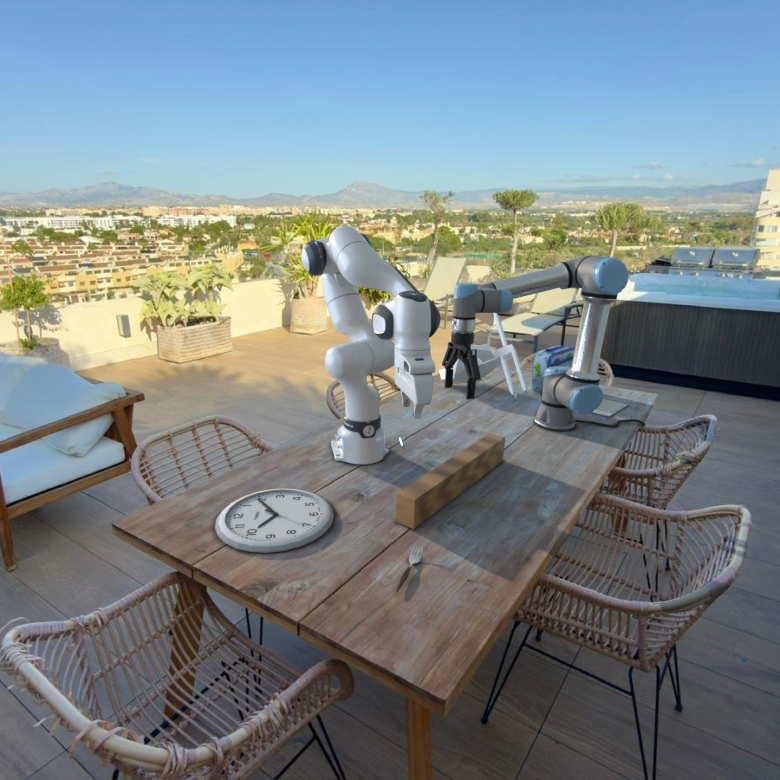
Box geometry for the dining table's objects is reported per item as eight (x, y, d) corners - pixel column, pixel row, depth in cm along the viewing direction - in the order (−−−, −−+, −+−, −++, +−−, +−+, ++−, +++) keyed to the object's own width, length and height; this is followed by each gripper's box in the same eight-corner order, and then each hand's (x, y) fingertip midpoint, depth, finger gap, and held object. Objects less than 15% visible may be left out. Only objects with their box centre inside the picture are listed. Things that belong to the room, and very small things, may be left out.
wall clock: (332, 544, 122) (200, 548, 120) (332, 550, 123) (201, 555, 120) (334, 484, 151) (228, 486, 148) (334, 489, 151) (228, 491, 149)
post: (487, 456, 175) (489, 433, 173) (503, 460, 172) (505, 437, 170) (395, 522, 135) (396, 493, 133) (413, 529, 132) (414, 500, 130)
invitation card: (608, 416, 214) (573, 407, 224) (608, 416, 214) (573, 408, 224) (628, 404, 229) (594, 396, 238) (628, 405, 229) (594, 397, 238)
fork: (390, 592, 109) (390, 584, 108) (413, 550, 123) (413, 543, 123) (402, 595, 108) (402, 587, 107) (424, 552, 122) (424, 545, 122)
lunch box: (548, 398, 236) (553, 353, 229) (527, 393, 243) (531, 349, 237) (575, 387, 253) (581, 344, 247) (555, 382, 260) (560, 341, 254)
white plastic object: (461, 429, 252) (437, 405, 227) (444, 352, 274) (420, 323, 250) (535, 404, 240) (518, 377, 215) (510, 326, 262) (492, 293, 237)
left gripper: (389, 350, 138) (389, 400, 142) (411, 369, 119) (411, 426, 123) (412, 349, 139) (411, 399, 143) (438, 367, 120) (436, 424, 124)
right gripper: (434, 325, 180) (431, 384, 187) (474, 339, 159) (470, 405, 165) (452, 324, 184) (449, 382, 190) (495, 337, 162) (489, 402, 168)
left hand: (411, 411), depth 133 cm, fingers open, 8 cm apart
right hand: (458, 393), depth 178 cm, fingers open, 13 cm apart
